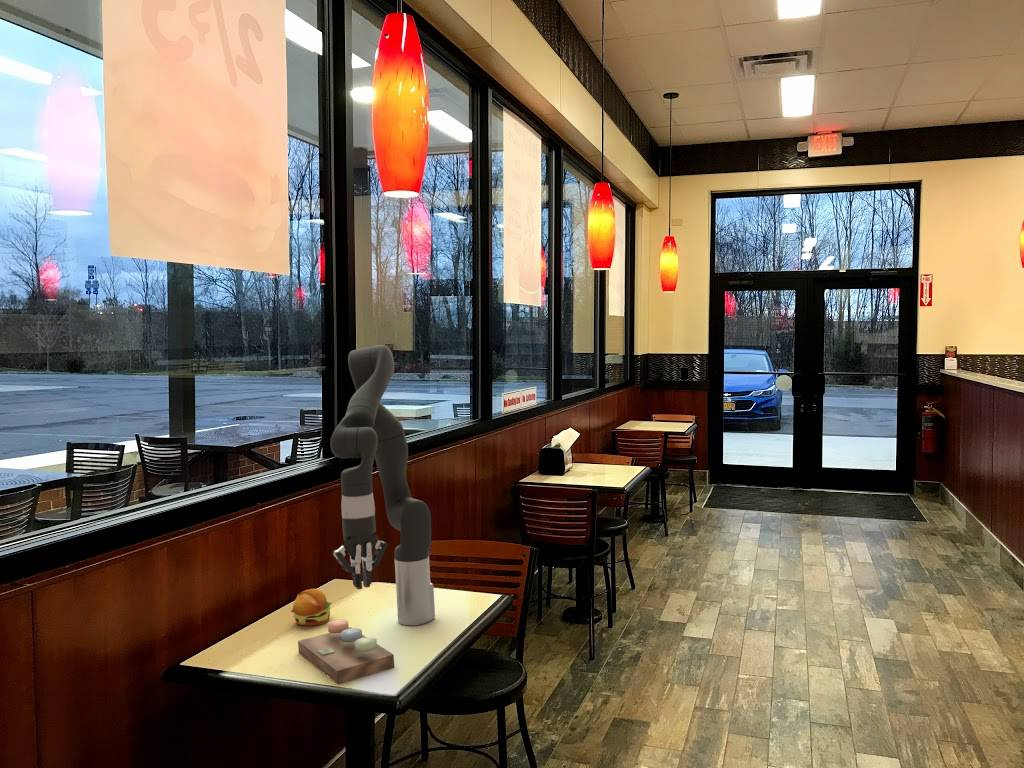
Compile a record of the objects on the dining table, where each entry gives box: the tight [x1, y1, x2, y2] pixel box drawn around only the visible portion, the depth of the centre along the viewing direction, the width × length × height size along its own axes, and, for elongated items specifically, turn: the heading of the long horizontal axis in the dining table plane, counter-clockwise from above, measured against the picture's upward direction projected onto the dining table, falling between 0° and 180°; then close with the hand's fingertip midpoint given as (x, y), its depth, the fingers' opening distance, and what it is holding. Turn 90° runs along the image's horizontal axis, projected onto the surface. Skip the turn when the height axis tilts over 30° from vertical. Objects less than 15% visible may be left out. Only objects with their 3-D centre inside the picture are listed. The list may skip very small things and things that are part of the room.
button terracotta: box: [327, 619, 350, 633], centre depth 201 cm, size 5×5×2 cm
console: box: [297, 626, 395, 685], centre depth 193 cm, size 14×24×3 cm, turn 35°
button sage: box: [355, 636, 378, 652], centre depth 187 cm, size 5×5×2 cm
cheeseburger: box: [290, 588, 332, 627], centre depth 221 cm, size 10×11×10 cm
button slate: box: [341, 627, 363, 642], centre depth 194 cm, size 5×5×2 cm
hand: (362, 587), depth 187 cm, fingers closed
